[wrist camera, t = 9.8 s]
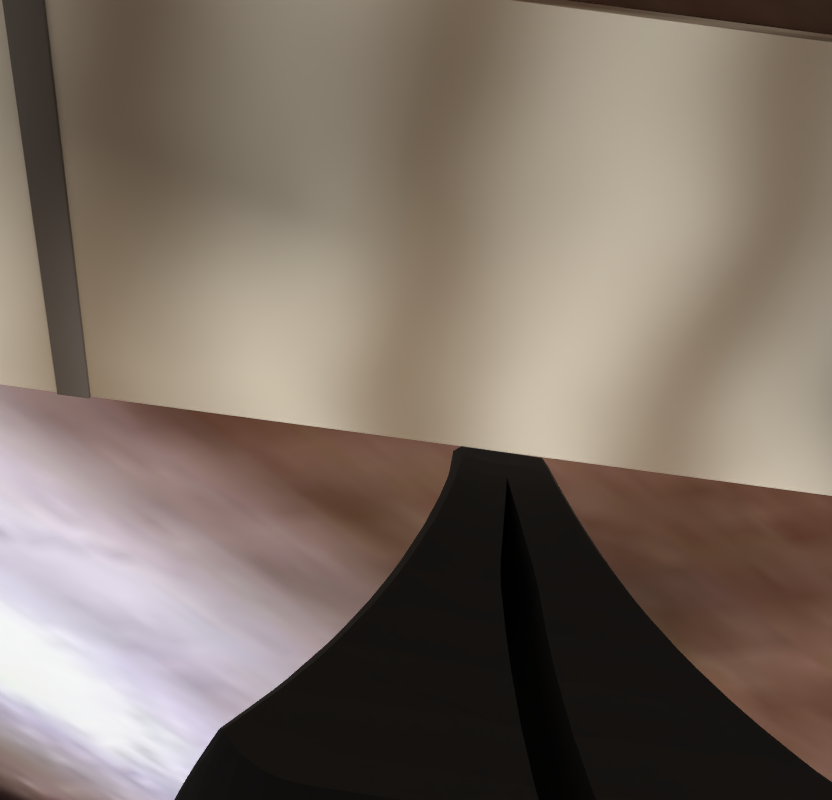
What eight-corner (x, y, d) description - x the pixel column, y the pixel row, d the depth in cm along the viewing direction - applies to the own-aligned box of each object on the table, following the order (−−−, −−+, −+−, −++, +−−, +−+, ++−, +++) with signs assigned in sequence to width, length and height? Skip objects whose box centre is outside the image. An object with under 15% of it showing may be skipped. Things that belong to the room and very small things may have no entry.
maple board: (1052, 64, 17) (1140, 83, 14) (863, 449, 22) (907, 507, 20) (-63, -82, 17) (-146, -86, 15) (8, 335, 22) (-46, 380, 20)
